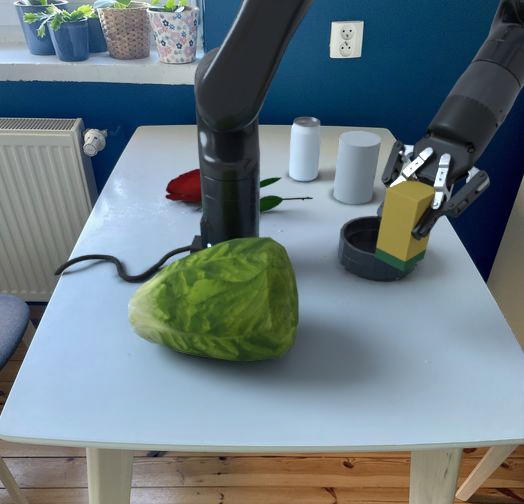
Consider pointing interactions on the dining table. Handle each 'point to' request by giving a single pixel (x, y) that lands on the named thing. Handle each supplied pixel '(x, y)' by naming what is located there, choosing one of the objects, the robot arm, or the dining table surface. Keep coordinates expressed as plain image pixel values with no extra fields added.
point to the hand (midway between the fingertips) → (397, 228)
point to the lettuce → (222, 302)
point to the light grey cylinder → (356, 166)
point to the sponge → (403, 224)
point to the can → (305, 149)
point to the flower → (190, 190)
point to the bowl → (365, 250)
